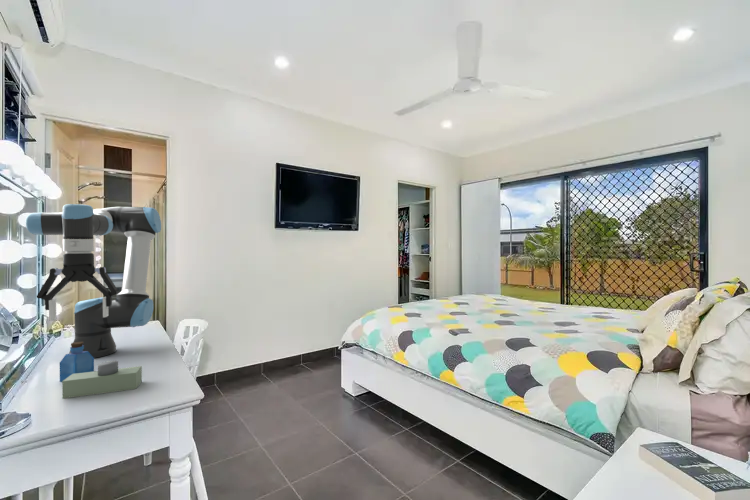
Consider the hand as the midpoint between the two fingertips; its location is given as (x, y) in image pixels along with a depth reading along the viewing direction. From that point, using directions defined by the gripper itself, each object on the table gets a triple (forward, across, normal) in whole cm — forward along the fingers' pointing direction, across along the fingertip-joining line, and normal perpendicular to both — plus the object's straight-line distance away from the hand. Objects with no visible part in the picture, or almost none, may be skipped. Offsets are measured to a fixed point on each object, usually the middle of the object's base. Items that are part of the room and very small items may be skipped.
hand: (79, 318), depth 110 cm
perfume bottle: (+21, -3, +6) cm, 22 cm away
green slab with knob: (+21, +9, -5) cm, 23 cm away
